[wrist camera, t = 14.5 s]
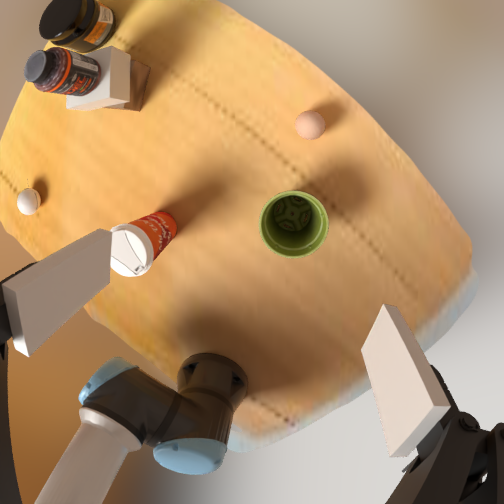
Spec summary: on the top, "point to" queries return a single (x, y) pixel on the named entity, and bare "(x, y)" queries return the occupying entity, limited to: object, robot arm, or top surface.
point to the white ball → (28, 201)
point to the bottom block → (135, 87)
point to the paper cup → (140, 243)
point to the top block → (106, 81)
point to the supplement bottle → (62, 72)
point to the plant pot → (293, 224)
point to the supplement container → (77, 24)
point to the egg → (310, 125)
